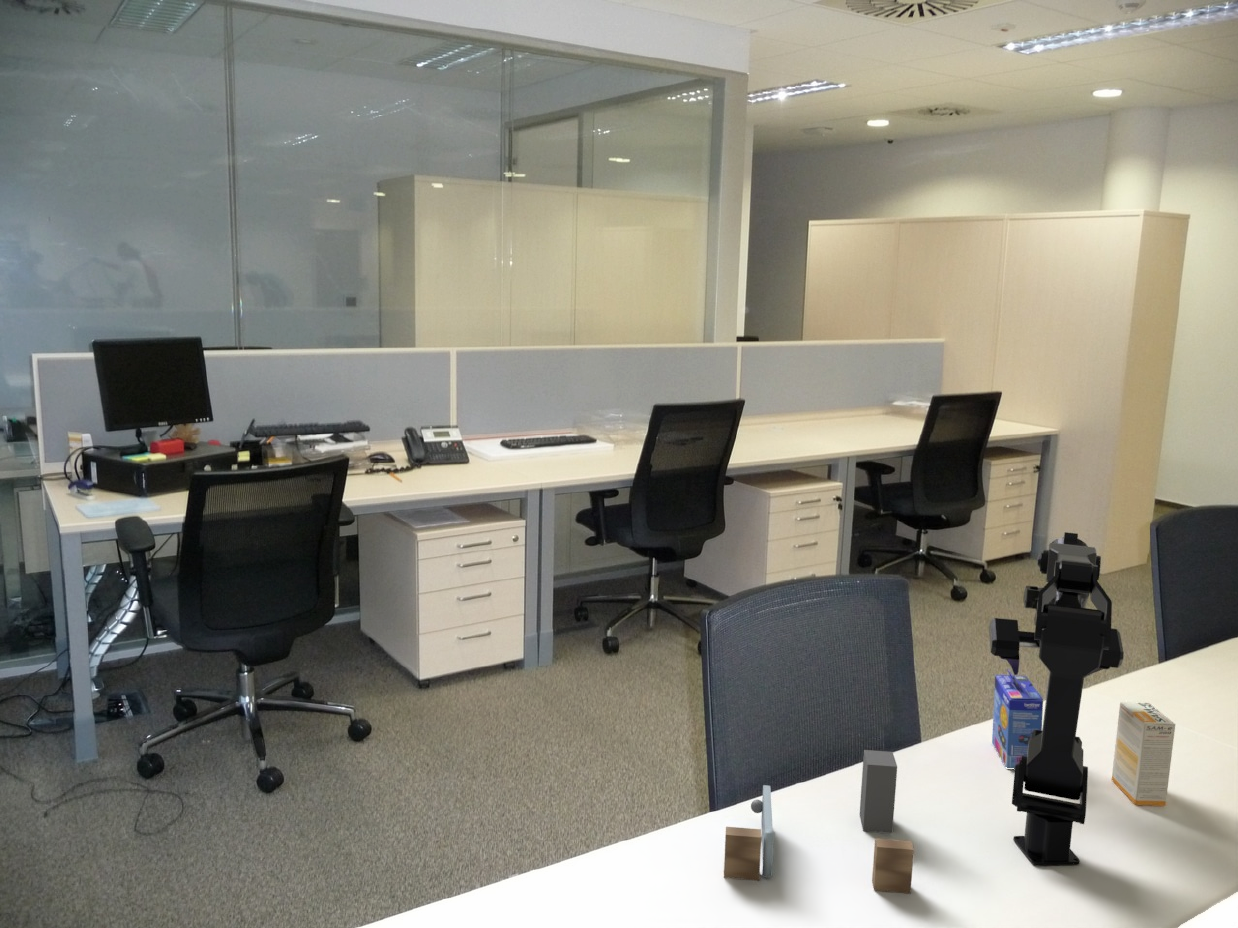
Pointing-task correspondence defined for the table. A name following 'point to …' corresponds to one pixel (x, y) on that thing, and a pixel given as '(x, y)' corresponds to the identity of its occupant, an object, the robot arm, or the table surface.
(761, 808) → the door
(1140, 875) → the table surface
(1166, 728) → the supplement box
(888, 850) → the wooden blocks
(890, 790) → the tall gray pillar
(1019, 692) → the ink cartridge box
